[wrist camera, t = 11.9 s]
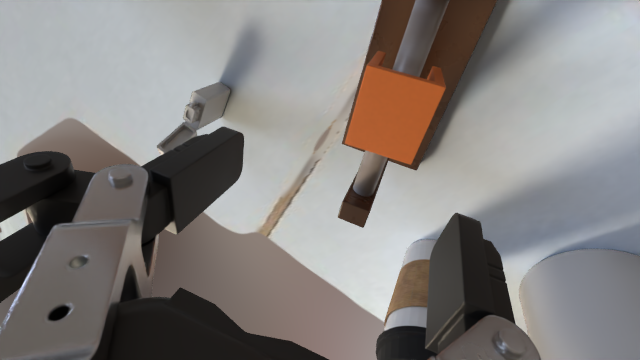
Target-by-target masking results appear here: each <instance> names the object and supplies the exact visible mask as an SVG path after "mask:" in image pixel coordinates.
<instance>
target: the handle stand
mask: <svg viewBox="0 0 640 360" xmlns="http://www.w3.org/2000/svg"><path fill="white" fill-rule="evenodd" d="M496 2H497V0H382V1H381V5H380V9H379V12H378V16H377V19H376V23H375V27H374V30H373V34H372V37H371V41H370V44H369V48H368V52H367V55H366V59H365V62H364V66H363V70H362V73H361V77H360V80H359V84H358V87H357V91H356V95H355V98H354V102H353V105H352V109H351V113H350V116H349V120H348V123H347V127H346V131H345V134H344V138H343V141H342V144H344V145H346V146H349V147H352V148H355V149H358V150H360V151H363V152H365V153H364V156H363V159H362V161H361V164H360V167H359V170H358V172H357V174H356V176H355V178H354V180H353V182H352V184H351V186H350V188H349V190H348V192H347V194H346V196H345V198H344V200H343V202H342V205H341V208H340V211H339V214H338V218H340V219H343V220H345V221H348V222H350V223H353V224H355V225H358V226H360V227H362V228H363V227H364V225H365V223H366V220H367V218H368V215H369V213H370V210H371V207H372V205H373V202H374V199H375V196H376V193H377V191H378V188H379V185H380V182H381V179H382V177H383V174H384V171H385V168H386V165H387V163H388V161H391V162H394V163H397V164H399V165H402V166H405V167H408V168H411V169H413V170H417V169H418V167H419V165H420V163H421V160H422V158H423V156H424V154H425V152H426V150H427V148H428V146H429V144H430V141H431V139H432V137H433V135H434V133H435V131H436V129H437V127H438V125H439V122H440V120H441V118H442V116H443V114H444V112H445V110H446V108H447V106H448V103H449V101H450V99H451V97H452V95H453V93H454V91H455V89H456V87H457V84H458V82H459V80H460V78H461V76H462V74H463V72H464V70H465V68H466V65H467V63H468V61H469V59H470V57H471V55H472V53H473V51H474V49H475V47H476V44H477V42H478V40H479V38H480V36H481V34H482V32H483V30H484V28H485V25H486V23H487V21H488V19H489V17H490V15H491V13H492V11H493V9H494V6H495V4H496ZM377 51H382V52H385V53H386V55H385V58H384V61H383V65H382V67H385V68H388V69H392V70H395V71H399V72H402V73H406V74H409V75H413V76H416V77H420V78H423V79H427V78H428V76H429V73H430V71H431V68H432V66H435V67H439V68H441V70H442V74H443V78H444V82H445V85H446V89H445V92H444V94H443V96H442V98H441V100H440V103H439V105H438V107H437V109H436V111H435V114H434V116H433V118H432V120H431V122H430V125H429V127H428V129H427V131H426V133H425V136H424V138H423V140H422V142H421V144H420V147H419V149H418V151H417V153H416V155H415V158H414V160H413V162H412V164H411V165H410V164H407V163H403V162H400V161H397V160H394V159H391V158H388V157H385V156H382V155H379V154H375V153H372V152H369V151H366V150H363V149H360V148H357V147H354V146H351V145H348V144H345V140H346V137H347V133H348V130H349V126H350V123H351V119H352V116H353V112H354V109H355V105H356V101H357V98H358V94H359V91H360V87H361V84H362V80H363V77H364V73H365V70H366V66H367V64H368V63H369V62H370V61H371V59H372V58H373V57H374V55H375V54H376V53H377Z"/></svg>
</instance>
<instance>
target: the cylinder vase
mask: <svg viewBox="0 0 640 360" xmlns="http://www.w3.org/2000/svg"><path fill="white" fill-rule="evenodd" d="M519 298H520V302H521V306H522V310H523V314H524V318H525V322H526V326H527V331H528V335H529V338H530V339H531V340H532V342H533V343H534V345H535V346H536V348H537V350H538V352H539V355H540V358H541V360H640V256H637V255H634V254H630V253H626V252H622V251H616V250H609V249H581V250H573V251H568V252H563V253H560V254H556V255H554V256H551V257H549V258H546V259H544V260H542V261H541V262H539V263H537V264H536V265H535V266H533V267H532V268H531V269H530V270H529V271H528V272H527V273H526V274H525V276H524V277H523V279H522V281H521V284H520V288H519Z"/></svg>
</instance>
